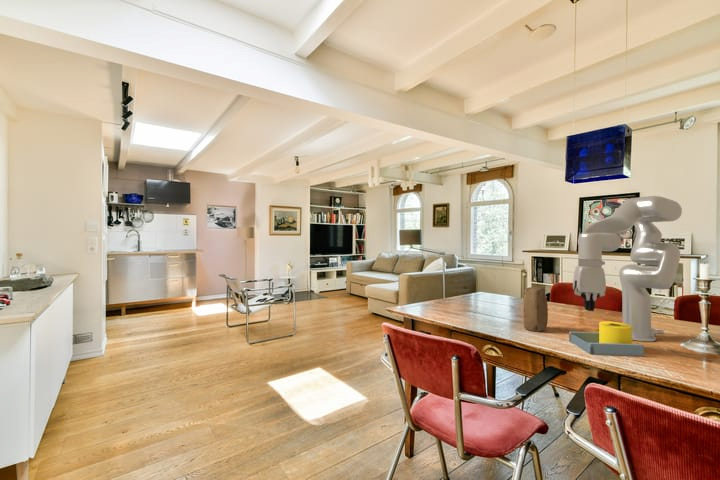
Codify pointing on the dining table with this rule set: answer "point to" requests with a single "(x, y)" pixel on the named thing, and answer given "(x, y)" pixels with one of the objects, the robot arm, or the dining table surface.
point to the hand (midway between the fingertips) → (589, 310)
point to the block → (535, 309)
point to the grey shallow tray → (603, 345)
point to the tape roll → (615, 332)
